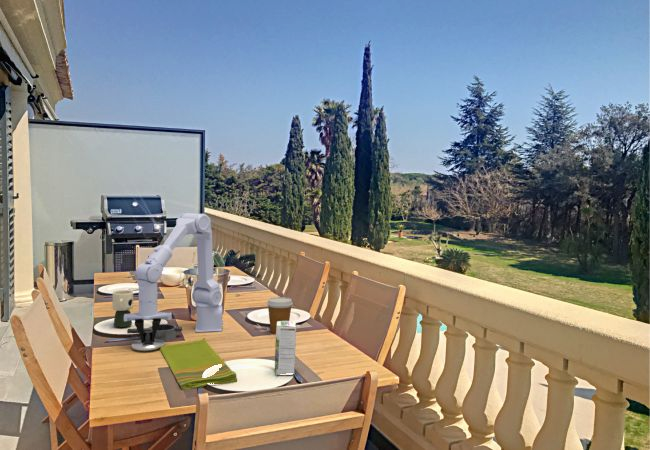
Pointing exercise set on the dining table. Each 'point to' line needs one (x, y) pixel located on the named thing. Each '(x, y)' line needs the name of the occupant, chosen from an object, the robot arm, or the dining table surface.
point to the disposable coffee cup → (278, 311)
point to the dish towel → (196, 364)
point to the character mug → (122, 307)
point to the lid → (147, 343)
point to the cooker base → (161, 331)
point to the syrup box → (285, 347)
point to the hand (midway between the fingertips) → (147, 341)
